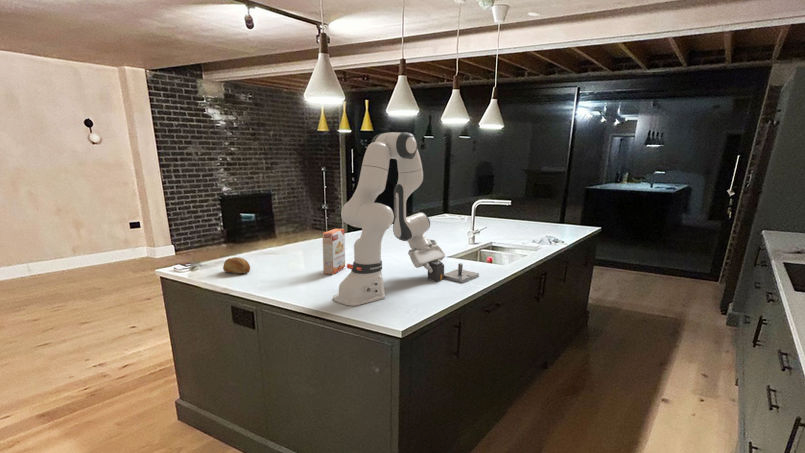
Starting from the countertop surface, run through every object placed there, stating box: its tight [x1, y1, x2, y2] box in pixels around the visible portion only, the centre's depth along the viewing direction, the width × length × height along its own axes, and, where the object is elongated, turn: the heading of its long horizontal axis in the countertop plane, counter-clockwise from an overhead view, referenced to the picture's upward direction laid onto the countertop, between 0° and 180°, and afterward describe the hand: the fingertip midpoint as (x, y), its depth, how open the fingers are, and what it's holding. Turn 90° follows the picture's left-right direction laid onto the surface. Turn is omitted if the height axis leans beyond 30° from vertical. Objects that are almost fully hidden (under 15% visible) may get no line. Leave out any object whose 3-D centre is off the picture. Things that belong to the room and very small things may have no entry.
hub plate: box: [443, 263, 480, 284], centre depth 189 cm, size 14×12×6 cm
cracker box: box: [322, 228, 346, 275], centre depth 200 cm, size 14×6×21 cm, turn 163°
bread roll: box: [222, 256, 251, 274], centre depth 199 cm, size 10×15×8 cm, turn 68°
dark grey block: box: [427, 261, 445, 282], centre depth 186 cm, size 6×6×8 cm
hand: (437, 270), depth 186 cm, fingers closed on dark grey block, 5 cm apart
